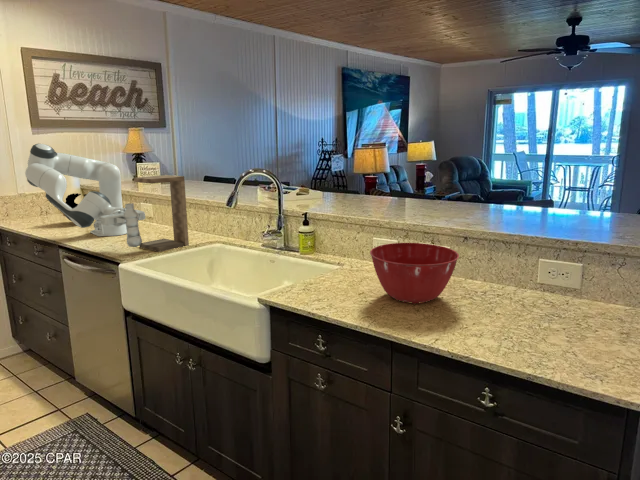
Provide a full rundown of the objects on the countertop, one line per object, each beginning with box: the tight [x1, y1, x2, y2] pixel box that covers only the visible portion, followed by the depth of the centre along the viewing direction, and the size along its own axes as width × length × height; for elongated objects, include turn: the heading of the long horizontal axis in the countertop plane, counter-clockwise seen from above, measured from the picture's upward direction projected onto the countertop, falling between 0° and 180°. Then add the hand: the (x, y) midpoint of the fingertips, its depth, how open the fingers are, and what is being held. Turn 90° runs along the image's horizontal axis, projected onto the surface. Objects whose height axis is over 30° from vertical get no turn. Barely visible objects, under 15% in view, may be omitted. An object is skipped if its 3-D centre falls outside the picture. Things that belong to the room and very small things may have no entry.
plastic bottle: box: [123, 203, 143, 248], centre depth 224 cm, size 6×7×20 cm
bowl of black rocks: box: [63, 192, 88, 222], centre depth 303 cm, size 20×20×19 cm
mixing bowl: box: [369, 242, 460, 304], centre depth 161 cm, size 28×28×16 cm
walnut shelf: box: [133, 174, 190, 253], centre depth 235 cm, size 16×18×34 cm
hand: (132, 219), depth 223 cm, fingers closed on plastic bottle, 6 cm apart
